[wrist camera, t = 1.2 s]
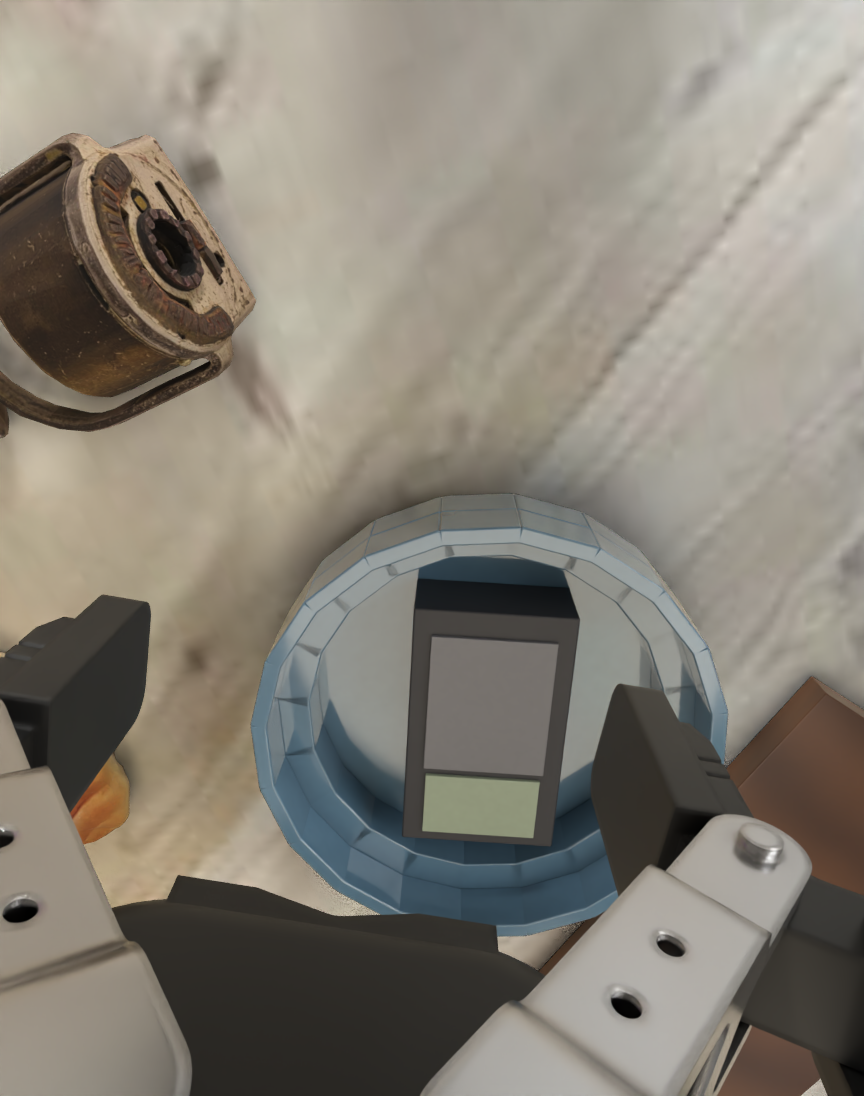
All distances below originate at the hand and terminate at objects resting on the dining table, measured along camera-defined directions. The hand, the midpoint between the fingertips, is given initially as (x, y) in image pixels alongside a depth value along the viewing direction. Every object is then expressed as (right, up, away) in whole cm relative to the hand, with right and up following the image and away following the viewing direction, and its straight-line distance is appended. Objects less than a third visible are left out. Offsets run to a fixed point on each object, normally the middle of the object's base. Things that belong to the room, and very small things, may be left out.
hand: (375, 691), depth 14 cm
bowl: (+3, -3, +21) cm, 21 cm away
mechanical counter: (-12, +12, +16) cm, 23 cm away
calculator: (+3, -4, +20) cm, 21 cm away
